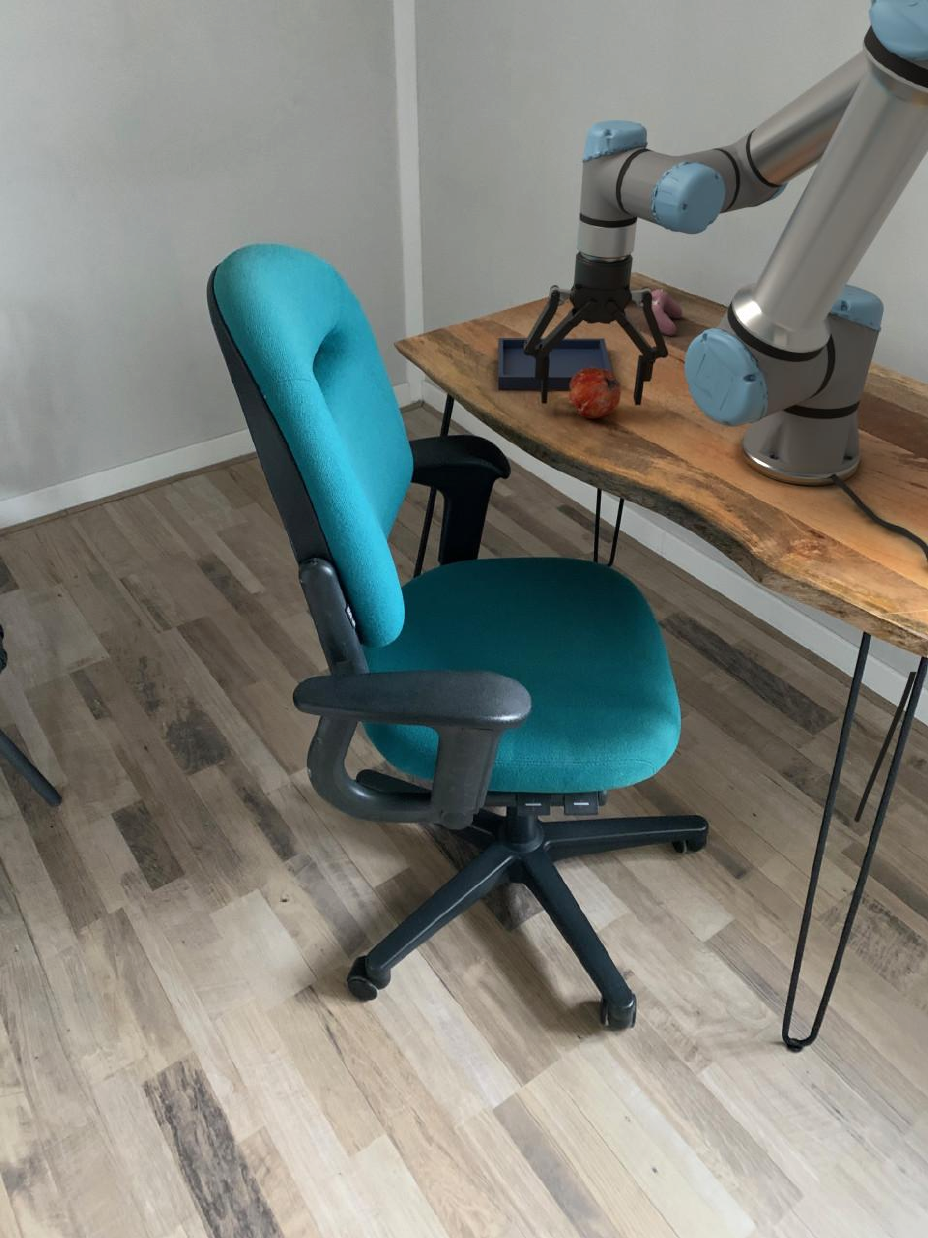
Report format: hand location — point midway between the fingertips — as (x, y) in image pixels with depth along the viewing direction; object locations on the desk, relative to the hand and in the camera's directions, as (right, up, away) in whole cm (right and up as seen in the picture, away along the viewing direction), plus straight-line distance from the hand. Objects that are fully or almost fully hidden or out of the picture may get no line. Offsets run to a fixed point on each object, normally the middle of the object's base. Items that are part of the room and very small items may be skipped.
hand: (590, 400), depth 139 cm
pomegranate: (0, -2, +1) cm, 2 cm away
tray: (-4, +8, +14) cm, 16 cm away
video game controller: (+16, +19, +28) cm, 38 cm away
